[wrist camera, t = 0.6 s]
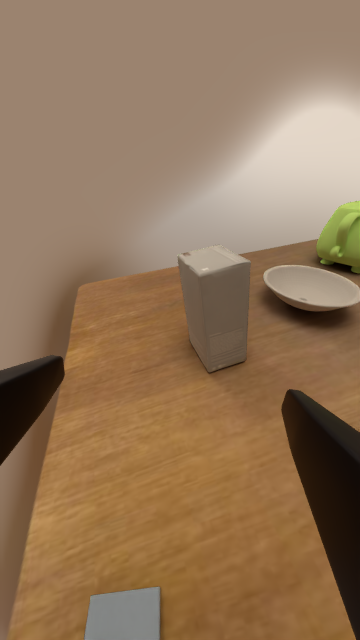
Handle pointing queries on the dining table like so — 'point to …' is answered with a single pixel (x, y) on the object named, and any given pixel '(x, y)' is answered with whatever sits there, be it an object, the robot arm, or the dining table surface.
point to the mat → (124, 615)
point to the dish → (311, 288)
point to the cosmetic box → (216, 304)
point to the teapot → (342, 237)
